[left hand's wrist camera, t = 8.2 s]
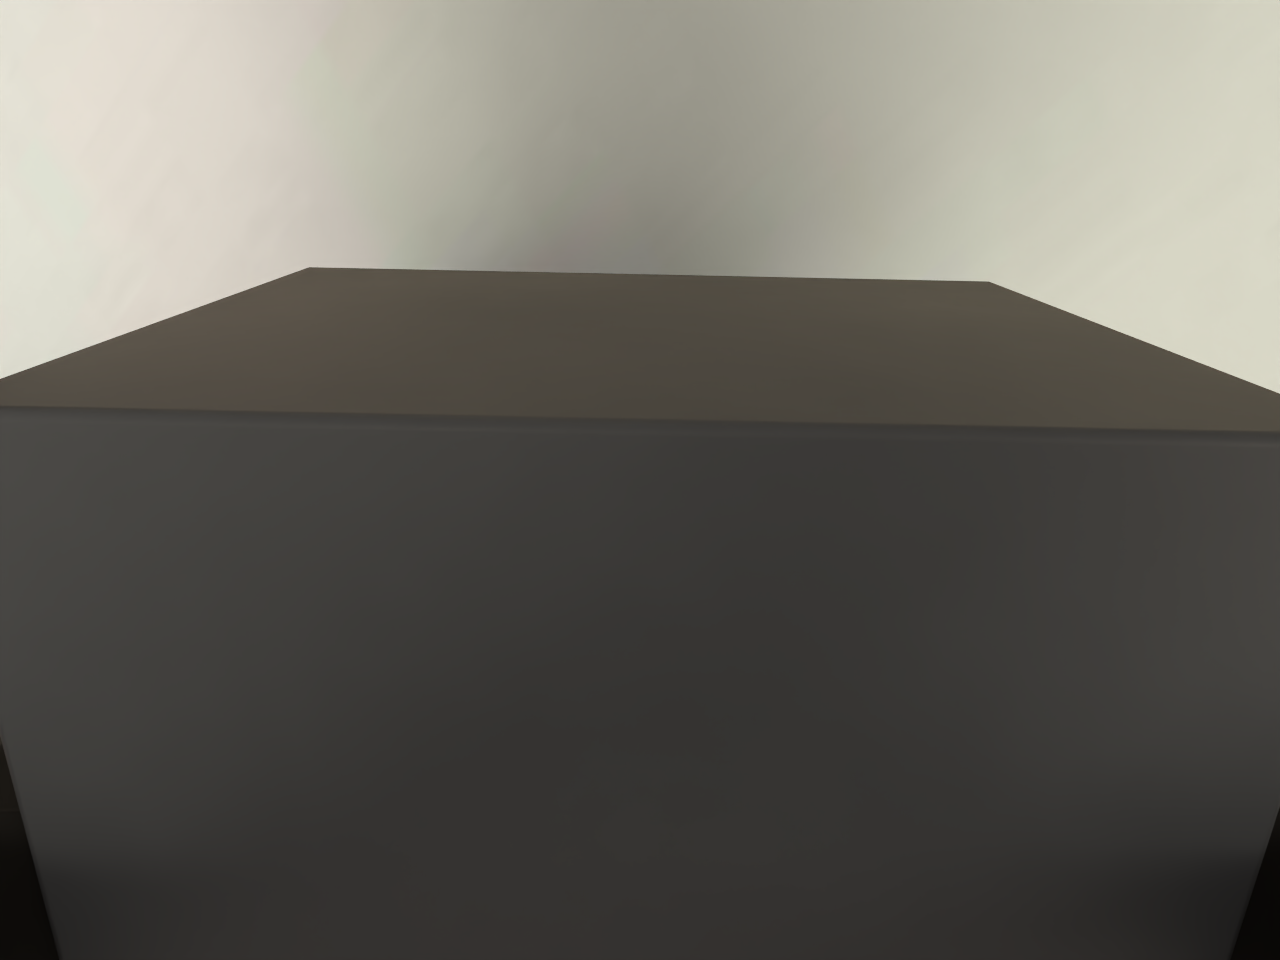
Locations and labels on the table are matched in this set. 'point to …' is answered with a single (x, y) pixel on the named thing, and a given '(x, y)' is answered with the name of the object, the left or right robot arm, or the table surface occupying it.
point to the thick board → (639, 626)
